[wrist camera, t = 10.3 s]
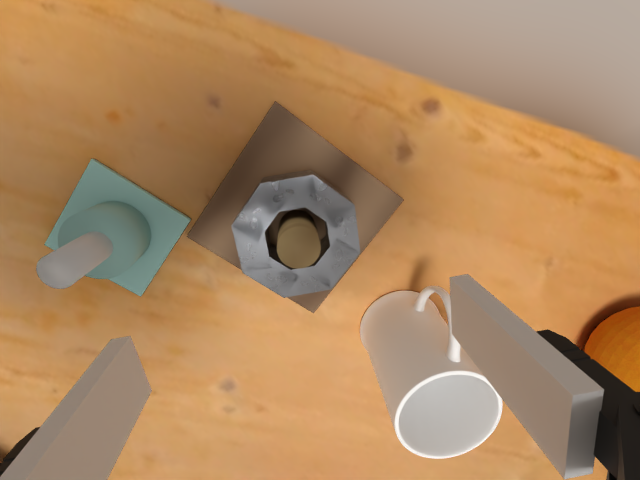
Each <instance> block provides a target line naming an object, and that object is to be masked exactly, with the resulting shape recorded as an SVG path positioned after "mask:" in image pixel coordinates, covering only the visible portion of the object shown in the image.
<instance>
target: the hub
mask: <svg viewBox="0 0 640 480" xmlns="http://www.w3.org/2000/svg"><path fill="white" fill-rule="evenodd" d="M310 169H311V170H312V171H314V172H315V173H316V174H318V175H319V176H320V177H322V178H323V179H324V180H326V181H327V182H329V183H330V184H331V185H333V186H334V187H335V188H337V189H338V190H340V191H341V192H342V193H344V194H345V195H346V196H348V197H349V199H350V200H351V201H352V202H353V204H354V205H355V211H356V220H357V228H358V236H359V245H360V254H361V253H362V252H363V250H364V249H365V248H366V247H367V245H368V244H369V243H370V242H371V240H372V239H373V238H374V237H375V235H376V234H377V233H378V232H379V230H380V229H381V228H382V227H383V225H384V224H385V223H386V221H387V220H388V219H389V218H390V216H391V215H392V214H393V213H394V211H395V210H396V209H397V208H398V206H399V205H400V204H401V203H402V201H403V200H404V199H402V198H401V197H400V196H398V195H397V194H396V193H394V192H393V191H392V190H391V189H389V188H388V187H387V186H385V185H384V184H383V183H381V182H380V181H379V180H378V179H376V178H375V177H374V176H372V175H371V174H370V173H368V172H367V171H366V170H364V169H363V168H362V167H361V166H359V165H358V164H357V163H355V162H354V161H353V160H351V159H350V158H349V157H347V156H346V155H345V154H344V153H342V152H341V151H340V150H338V149H337V148H336V147H334V146H333V145H332V144H330V143H329V142H328V141H327V140H325V139H324V138H323V137H321V136H320V135H319V134H317V133H316V132H315V131H313V130H312V129H311V128H310V127H308V126H307V125H306V124H304V123H303V122H302V121H300V120H299V119H298V118H297V117H295V116H294V115H293V114H291V113H290V112H289V111H287V110H286V109H285V108H283V107H282V106H281V105H280V104H278V103H277V102H276V101H275V102H274V104H273V105H272V107H271V109H270V110H269V112H268V113H267V115H266V116H265V118H264V119H263V121H262V122H261V124H260V125H259V127H258V128H257V130H256V131H255V133H254V135H253V136H252V138H251V139H250V141H249V142H248V144H247V145H246V147H245V148H244V150H243V151H242V153H241V154H240V156H239V157H238V159H237V161H236V162H235V164H234V165H233V167H232V168H231V170H230V171H229V173H228V174H227V176H226V177H225V179H224V180H223V182H222V183H221V185H220V187H219V188H218V190H217V191H216V193H215V194H214V196H213V197H212V199H211V200H210V202H209V203H208V205H207V206H206V208H205V209H204V211H203V213H202V214H201V216H200V217H199V219H198V220H197V222H196V223H195V225H194V226H193V228H192V229H191V231H190V232H189V234H188V235H187V237H188V238H190V239H192V240H193V241H195V242H197V243H198V244H200V245H201V246H203V247H205V248H206V249H208V250H210V251H211V252H213V253H215V254H216V255H218V256H220V257H221V258H223V259H225V260H226V261H228V262H230V263H231V264H233V265H235V266H236V267H238V268H240V269H241V270H242V268H241V264H240V260H239V256H238V251H237V247H236V243H235V239H234V235H233V231H232V227H231V225H232V224H233V222H234V220H235V218H236V216H237V215H238V213H239V212H240V210H241V209H242V207H243V206H244V204H245V203H246V202H247V200H248V199H249V197H250V196H251V194H252V193H253V191H254V190H255V188H256V187H257V185H258V184H259V183H260V181H261V180H262V178H263V177H267V176H273V175H279V174H285V173H291V172H298V171H304V170H310ZM268 231H269V235H270V240H271V244H273V245H274V246H276V247H277V253H278V256H279V258H280V260H281V261H282V262H283V263H284V264H285V265H287V266H289V267H291V268H296V269H300V268H306V267H308V266H310V265H312V264H313V263H314V262H315V261H316V260H317V258H318V257H319V254H320V251H321V245H320V242H321V240H322V239H323V238H324V236H325V235H326V230H325V223H324V220H323V219H321V218H320V217H319V216H317V215H316V214H314V213H313V212H311V211H310V210H309V209H307V208H306V207H305V208H299V209H293V210H287V211H281V212H279V213H278V214H277V215H276V217H275V218H274V220H273V221H272V222H271V224H270V225H269V227H268ZM360 254H359V255H360ZM359 255H358V256H357V258H358V257H359ZM357 258H356V259H357ZM356 259H355V260H356ZM355 260H354V261H353V263H354V262H355ZM353 263H352V264H353ZM352 264H351V265H352ZM351 265H350V266H349V268H350V267H351ZM349 268H348V269H349ZM348 269H347V270H346V271H345V273H346V272H347V271H348ZM345 273H344V274H345ZM344 274H343V275H342V276H341V278H342V277H343V276H344ZM341 278H340V279H341ZM340 279H339V280H338V281H337V283H338V282H339V281H340ZM337 283H336V284H337ZM336 284H335V285H334V286H333V288H334V287H335V286H336ZM333 288H332V289H333ZM332 289H331V290H325V291H319V292H314V293H308V294H302V295H296V296H291V297H288V298H289V299H291V300H293V301H294V302H296V303H298V304H299V305H301V306H302V307H304V308H306V309H307V310H309V311H311V312H312V313H314V312H315V311H316V310H317V308H318V307H319V306H320V304H321V303H322V302H323V301H324V299H325V298H326V297H327V296H328V294H329V293H330V292H331V291H332Z"/></svg>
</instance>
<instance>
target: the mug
mask: <svg viewBox="0 0 640 480" xmlns="http://www.w3.org/2000/svg"><path fill="white" fill-rule="evenodd" d="M434 292H436V293H437V294H438V295H439V296H440V297H441V299H442V301H443V303H444V306H445V309H446V313H447V318H448V324H447V323H446V322H445V321H444V319H443V318H442V317H441V315H440V313H439V311H438V308H437V307H436V305H435V304H434V303H433V302H432V301H431V300H430V299H429V296H430V295H431V294H432V293H434ZM360 337H361V341H362V344H363V346H364V347H365V349H366V350H367V352H368V354H369V357H370V360H371V363H372V365H373V368H374V371H375V374H376V377H377V380H378V383H379V386H380V389H381V392H382V394H383V397H384V400H385V403H386V406H387V409H388V412H389V415H390V418H391V420H392V423H393V426H394V429H395V432H396V435H397V437H398V439H399V440H400V442H401V443H402V444H403V446H404V447H406V448H407V449H408V450H409V451H411V452H413V453H414V454H417V455H419V456H422V457H427V458H435V459H441V458H450V457H454V456H458V455H461V454H464V453H466V452H468V451H470V450H472V449H474V448H475V447H477V446H479V445H480V444H481V443H482V442H484V441H485V440H486V439H487V438H488V437H489V436H490V435H491V434H492V432H493V431H494V430H495V428H496V426H497V425H498V422H499V420H500V417H501V414H502V399H501V397H500V396H499V394H498V393H497V392H496V390H495V389H494V388H493V387H492V385H491V384H490V383H489V381H488V380H487V379H486V377H485V376H484V375H483V374H482V372H481V371H480V370H479V368H478V367H477V366H476V365H475V363H474V362H473V361H472V359H471V358H470V357H469V355H468V354H467V353H466V352H465V350H464V349H463V348H462V346H461V345H460V344H459V343H458V341H457V340H456V339H455V337H454V336H453V335H452V325H451V299H450V295H449V294H448V292H447V291H446V290H444V289H443V288H441V287H439V286H428V287H426V288H424V289H423V290H422V291H421V292H420V293H418V292H414V291H406V290H404V291H395V292H392V293H389V294H386V295H384V296H382V297H380V298H379V299H377V300H376V301H375V302H374V303H372V304H371V305H370V307H369V308H368V309H367V310H366V312H365V314H364V316H363V318H362V321H361V324H360Z"/></svg>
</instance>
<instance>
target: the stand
mask: <svg viewBox="0 0 640 480" xmlns="http://www.w3.org/2000/svg"><path fill="white" fill-rule="evenodd" d="M190 221H191V218H189V217H188V216H186V215H184V214H183V213H181V212H179V211H178V210H176V209H175V208H173V207H171V206H170V205H168V204H167V203H165V202H163V201H162V200H160V199H159V198H157V197H155V196H154V195H152V194H150V193H149V192H147V191H146V190H144V189H142V188H141V187H139V186H138V185H136V184H134V183H133V182H131V181H130V180H128V179H126V178H125V177H123V176H121V175H120V174H118V173H117V172H115V171H113V170H112V169H110V168H109V167H107V166H105V165H104V164H102V163H100V162H99V161H97V160H96V159H91V161H90V162H89V164H88V166H87V168H86V170H85V172H84V173H83V175H82V177H81V179H80V181H79V182H78V184H77V186H76V188H75V190H74V192H73V193H72V195H71V197H70V199H69V201H68V202H67V204H66V206H65V208H64V210H63V212H62V213H61V215H60V217H59V219H58V221H57V222H56V224H55V226H54V228H53V230H52V232H51V233H50V235H49V237H48V239H47V241H46V242H45V244H44V245H45V246H47V247H49V248H51V249H53V250H55V251H53V252H51V253H49V254H48V255H46V256H44V257H42V258H41V259H40V260H39V261H38V263H37V266H36V271H37V274H38V276H39V278H40V279H41V281H42V282H44V283H45V284H46V285H48V286H50V287H53V288H57V289H64V288H67V287H70V286H71V285H72V284H74V283H75V282H76V281H78V280H79V279H80V278H82V277H83V276H84V275H85V276H88V277H91V278H96V279H109V280H111V281H113V282H114V283H116V284H118V285H120V286H122V287H124V288H126V289H127V290H129V291H131V292H133V293H135V294H137V295H139V296H142V295H143V293H144V291H145V290H146V288H147V287H148V285H149V284H150V282H151V281H152V279H153V278H154V276H155V275H156V273H157V271H158V270H159V268H160V267H161V265H162V264H163V262H164V261H165V259H166V258H167V256H168V254H169V253H170V251H171V250H172V248H173V247H174V245H175V244H176V242H177V241H178V239H179V238H180V236H181V234H182V233H183V231H184V230H185V228H186V227H187V225H188V224H189V222H190Z"/></svg>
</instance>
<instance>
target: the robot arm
mask: <svg viewBox="0 0 640 480" xmlns="http://www.w3.org/2000/svg"><path fill="white" fill-rule="evenodd" d="M450 299H451V325H452V335H453V336H454V337H455V339H456V340H457V341H458V343H459V344H460V345H461V346H462V348H463V349H464V350H465V352H466V353H467V354H468V355H469V357H470V358H471V359H472V361H473V362H474V363H475V365H476V366H477V367H478V368H479V370H480V371H481V372H482V374H483V375H484V376H485V377H486V379H487V380H488V381H489V383H490V384H491V385H492V387H493V388H494V389H495V390H496V392H497V393H498V394H499V396H500V397H501V398H502V399H503V401H504V402H505V403H506V405H507V406H508V407H509V408H510V410H511V411H512V412H513V414H514V415H515V416H516V418H517V419H518V420H519V421H520V423H521V424H522V425H523V427H524V428H525V429H526V430H527V432H528V433H529V434H530V436H531V437H532V438H533V439H534V441H535V442H536V443H537V445H538V446H539V447H540V449H541V450H542V451H543V452H544V454H545V455H546V456H547V458H548V459H549V460H550V461H551V463H552V464H553V465H554V467H555V468H556V469H557V470H558V472H559V473H560V474H561V476H562V477H563V478H564V479H568V478H573V477H578V476H582V475H587V474H592V473H593V466H594V459H595V457H596V458H597V459H598V460H599V461H600V462H601V463H602V464H603V465H604V466H605V468H606V469H607V470H608V473H607V479H606V480H640V392H635V391H634V390H633V389H631V388H630V387H629V386H627V385H626V384H625V383H624V382H622V381H621V380H620V379H618V378H617V377H616V376H615V375H613V374H612V373H611V372H609V371H608V370H607V369H606V368H604V367H603V366H602V365H600V364H599V363H598V362H597V361H595V360H594V359H591V358H590V356H589V355H588V354H586V353H585V352H584V351H582V350H579V347H577V346H576V345H575V344H573V343H572V342H571V341H570V340H568V339H567V338H566V337H564V336H561V335H559V334H557V333H555V332H552V331H550V330H543V331H537V332H536V331H534V330H533V329H532V328H531V327H530V326H528V325H527V324H526V323H525V322H524V321H523V320H521V319H520V318H519V317H518V316H517V315H515V314H514V313H513V312H512V311H511V310H510V309H508V308H507V307H506V306H505V305H504V304H502V303H501V302H500V301H499V300H498V299H497V298H495V297H494V296H493V295H492V294H491V293H489V292H488V291H487V290H486V289H485V288H484V287H482V286H481V285H480V284H479V283H478V282H476V281H475V280H474V279H473V278H472V277H471V276H469V275H468V274H465V275H460V276H455V277H450ZM151 391H152V390H151V387H150V385H149V382H148V380H147V377H146V374H145V372H144V369H143V367H142V364H141V362H140V359H139V357H138V354H137V352H136V349H135V346H134V344H133V341H132V339H131V336H127V337H122V338H116V339H111V340H110V342H109V343H108V344H107V345H106V346H105V348H104V349H103V350H102V351H101V353H100V354H99V355H98V356H97V358H96V359H95V360H94V361H93V363H92V364H91V365H90V366H89V368H88V369H87V370H86V371H85V372H84V374H83V375H82V376H81V377H80V379H79V380H78V381H77V382H76V384H75V385H74V386H73V387H72V389H71V390H70V391H69V392H68V394H67V395H66V396H65V397H64V399H63V400H62V401H61V402H60V403H59V405H58V406H57V407H56V408H55V410H54V411H53V412H52V413H51V415H50V416H49V417H48V418H47V420H46V421H45V422H44V423H43V425H42V426H41V427H38V428H35V429H34V430H32V431H31V432H30V433H29V434H28V435H26V436H25V437H24V438H23V439H22V440H20V441H19V442H18V443H17V444H16V445H15V446H14V448H13V449H12V450H11V451H10V452H9V453H8V455H7V456H6V457H5V458H4V459H3V463H0V480H107V479H108V477H109V475H110V473H111V471H112V469H113V467H114V465H115V463H116V461H117V459H118V457H119V455H120V453H121V451H122V449H123V447H124V445H125V443H126V441H127V439H128V437H129V435H130V433H131V431H132V429H133V427H134V425H135V423H136V421H137V419H138V417H139V415H140V413H141V411H142V409H143V407H144V405H145V403H146V401H147V399H148V397H149V395H150V393H151Z"/></svg>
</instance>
